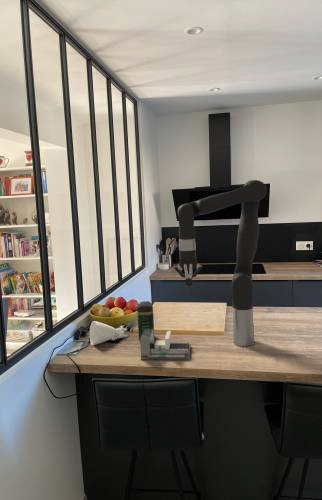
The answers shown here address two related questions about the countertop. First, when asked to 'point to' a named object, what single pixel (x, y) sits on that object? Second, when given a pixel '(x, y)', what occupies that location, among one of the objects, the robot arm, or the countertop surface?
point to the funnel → (104, 332)
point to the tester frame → (173, 353)
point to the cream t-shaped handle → (164, 342)
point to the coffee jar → (145, 317)
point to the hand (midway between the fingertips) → (189, 286)
